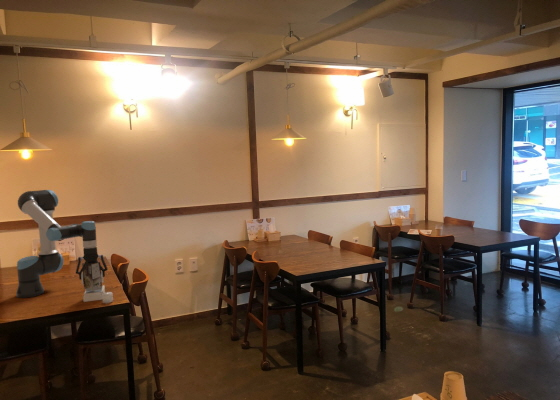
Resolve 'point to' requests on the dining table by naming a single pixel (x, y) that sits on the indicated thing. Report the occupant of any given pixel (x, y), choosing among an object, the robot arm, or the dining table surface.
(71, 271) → the dining table surface
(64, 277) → the dining table surface
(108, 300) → the white rounded block
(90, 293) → the white open box
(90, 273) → the coffee box
